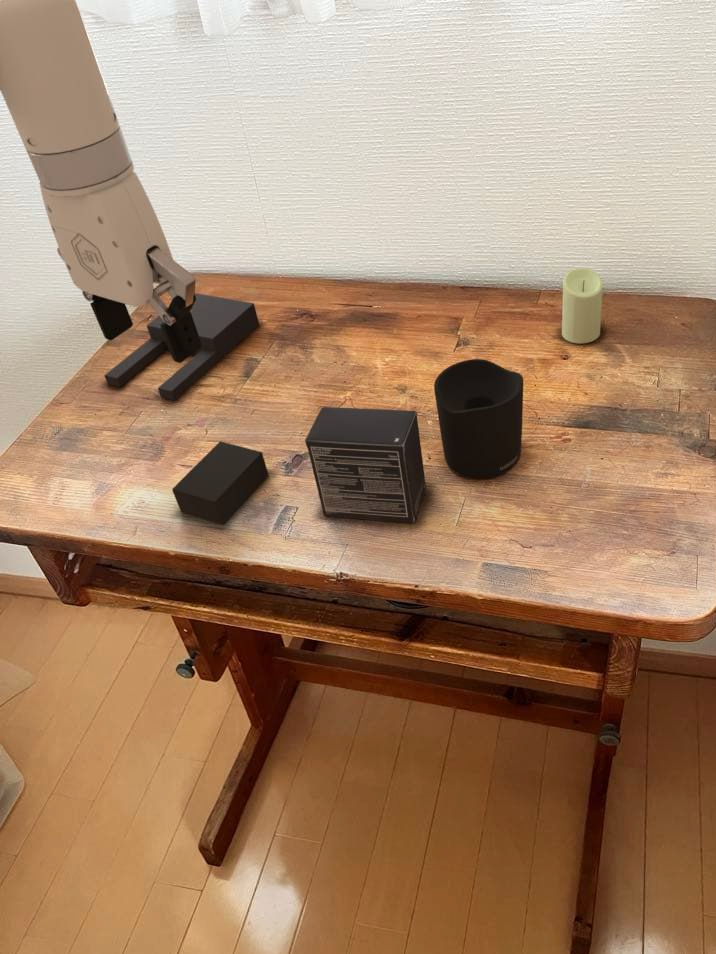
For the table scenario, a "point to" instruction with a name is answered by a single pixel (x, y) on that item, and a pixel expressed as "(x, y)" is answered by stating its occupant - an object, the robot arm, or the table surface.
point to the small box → (367, 463)
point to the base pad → (218, 334)
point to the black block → (221, 482)
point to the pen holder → (480, 418)
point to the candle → (581, 305)
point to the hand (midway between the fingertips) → (153, 343)
